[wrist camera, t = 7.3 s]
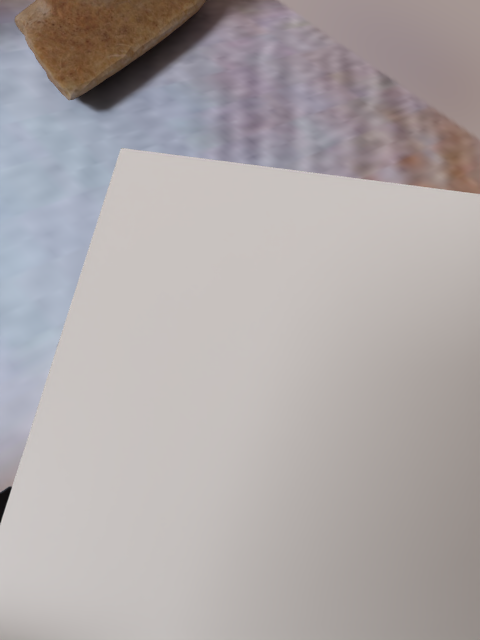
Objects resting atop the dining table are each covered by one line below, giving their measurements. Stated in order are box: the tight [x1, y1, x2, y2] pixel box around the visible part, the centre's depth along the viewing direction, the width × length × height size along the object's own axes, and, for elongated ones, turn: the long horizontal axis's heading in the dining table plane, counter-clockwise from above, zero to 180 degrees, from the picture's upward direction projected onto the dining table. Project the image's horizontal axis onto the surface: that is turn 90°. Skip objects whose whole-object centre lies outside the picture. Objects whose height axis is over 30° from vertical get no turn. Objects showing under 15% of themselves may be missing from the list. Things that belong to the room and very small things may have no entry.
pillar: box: [0, 148, 480, 640], centre depth 9 cm, size 5×5×12 cm
